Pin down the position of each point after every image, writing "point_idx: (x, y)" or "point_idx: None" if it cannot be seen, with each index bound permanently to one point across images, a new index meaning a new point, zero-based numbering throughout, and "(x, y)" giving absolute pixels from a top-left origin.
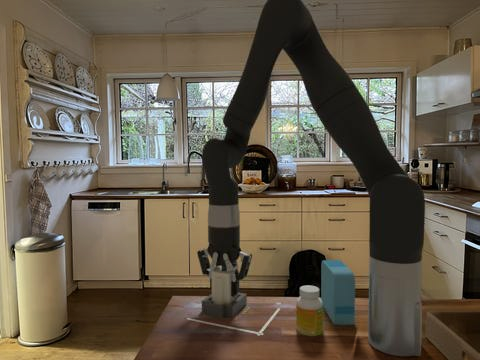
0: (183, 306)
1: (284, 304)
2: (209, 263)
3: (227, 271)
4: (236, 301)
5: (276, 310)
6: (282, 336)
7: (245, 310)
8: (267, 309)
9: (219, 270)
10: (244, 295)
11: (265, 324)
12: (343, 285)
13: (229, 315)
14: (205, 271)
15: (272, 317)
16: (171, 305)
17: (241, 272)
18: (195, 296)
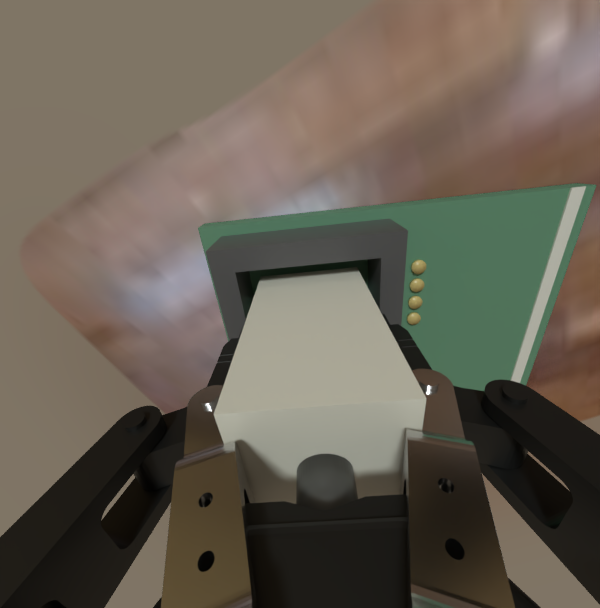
0: (134, 328)
1: (592, 40)
2: (108, 491)
3: (371, 485)
4: None
5: (562, 220)
6: (570, 354)
7: (412, 289)
8: (490, 174)
9: (291, 491)
10: (403, 256)
11: (521, 352)
12: None
13: None
14: (172, 486)
15: (545, 295)
16: (90, 341)
17: (531, 503)
18: (71, 215)
